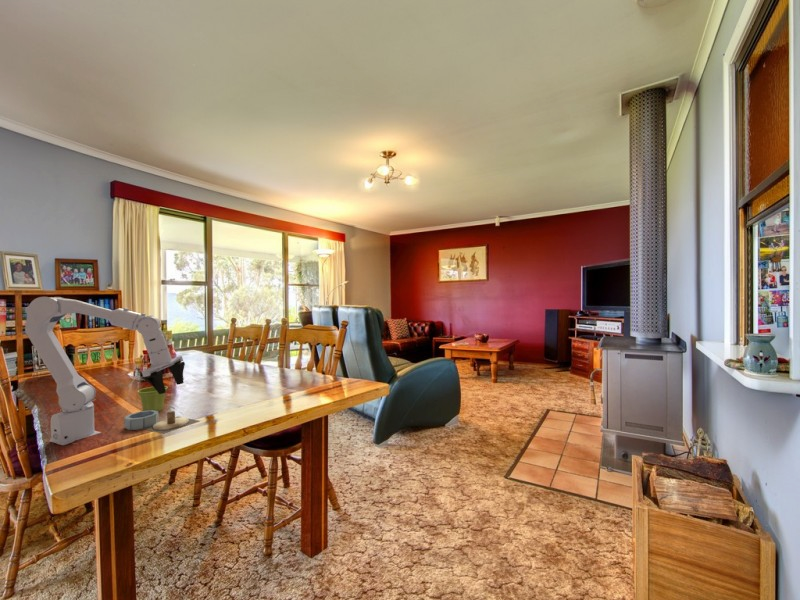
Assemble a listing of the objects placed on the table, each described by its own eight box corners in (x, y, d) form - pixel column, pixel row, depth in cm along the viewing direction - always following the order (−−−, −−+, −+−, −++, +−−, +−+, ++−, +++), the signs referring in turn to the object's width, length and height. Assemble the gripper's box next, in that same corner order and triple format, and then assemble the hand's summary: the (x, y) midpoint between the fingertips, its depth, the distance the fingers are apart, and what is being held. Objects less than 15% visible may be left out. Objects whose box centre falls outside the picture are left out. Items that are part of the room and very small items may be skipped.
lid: (165, 432, 109) (164, 418, 109) (146, 427, 113) (145, 414, 113) (195, 421, 118) (195, 409, 118) (176, 417, 122) (176, 405, 122)
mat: (163, 435, 108) (163, 433, 108) (140, 430, 113) (140, 428, 113) (200, 422, 119) (200, 420, 119) (177, 418, 124) (177, 416, 124)
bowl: (135, 433, 110) (135, 420, 110) (119, 429, 114) (119, 417, 114) (163, 424, 118) (163, 412, 118) (148, 420, 122) (147, 409, 122)
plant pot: (132, 413, 129) (132, 390, 129) (159, 406, 138) (159, 384, 138) (146, 417, 125) (145, 393, 125) (173, 409, 133) (173, 387, 133)
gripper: (149, 355, 109) (163, 395, 111) (184, 342, 123) (197, 378, 125) (131, 359, 110) (145, 399, 112) (168, 346, 125) (180, 381, 126)
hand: (171, 388), depth 119 cm, fingers open, 7 cm apart
